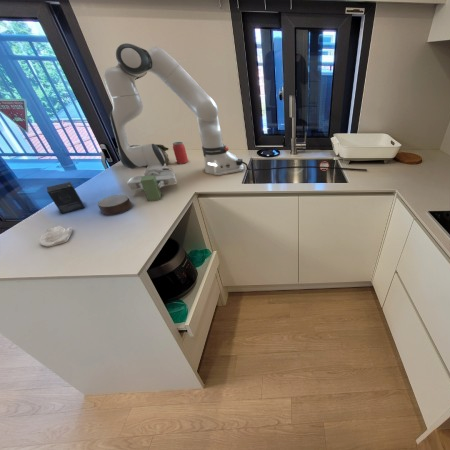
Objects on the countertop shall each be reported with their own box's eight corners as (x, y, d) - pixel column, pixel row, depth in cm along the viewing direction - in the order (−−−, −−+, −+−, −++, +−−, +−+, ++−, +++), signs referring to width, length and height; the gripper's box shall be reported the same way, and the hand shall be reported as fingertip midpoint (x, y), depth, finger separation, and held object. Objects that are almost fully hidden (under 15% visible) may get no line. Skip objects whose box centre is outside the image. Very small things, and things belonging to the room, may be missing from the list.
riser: (134, 201, 110) (131, 193, 108) (129, 212, 101) (125, 204, 99) (106, 204, 107) (102, 196, 105) (98, 217, 98) (93, 208, 96)
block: (161, 194, 115) (154, 175, 110) (160, 199, 112) (153, 179, 106) (149, 196, 114) (142, 176, 108) (148, 201, 110) (140, 180, 105)
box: (83, 203, 108) (70, 181, 102) (84, 208, 104) (72, 185, 98) (60, 209, 103) (46, 186, 97) (61, 214, 100) (46, 191, 94)
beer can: (190, 160, 155) (185, 141, 149) (185, 164, 150) (180, 144, 143) (180, 160, 156) (175, 141, 149) (175, 163, 151) (169, 144, 144)
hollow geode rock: (124, 174, 148) (110, 162, 134) (123, 155, 150) (109, 142, 136) (173, 168, 154) (165, 157, 140) (171, 150, 156) (162, 137, 142)
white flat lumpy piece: (76, 224, 86) (43, 239, 78) (82, 234, 88) (51, 250, 81) (60, 218, 89) (26, 232, 82) (66, 228, 91) (34, 242, 84)
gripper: (128, 172, 115) (121, 184, 104) (175, 168, 121) (173, 178, 110) (133, 185, 119) (127, 197, 108) (178, 179, 124) (176, 191, 114)
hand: (150, 187), depth 109 cm, fingers closed on block, 5 cm apart
